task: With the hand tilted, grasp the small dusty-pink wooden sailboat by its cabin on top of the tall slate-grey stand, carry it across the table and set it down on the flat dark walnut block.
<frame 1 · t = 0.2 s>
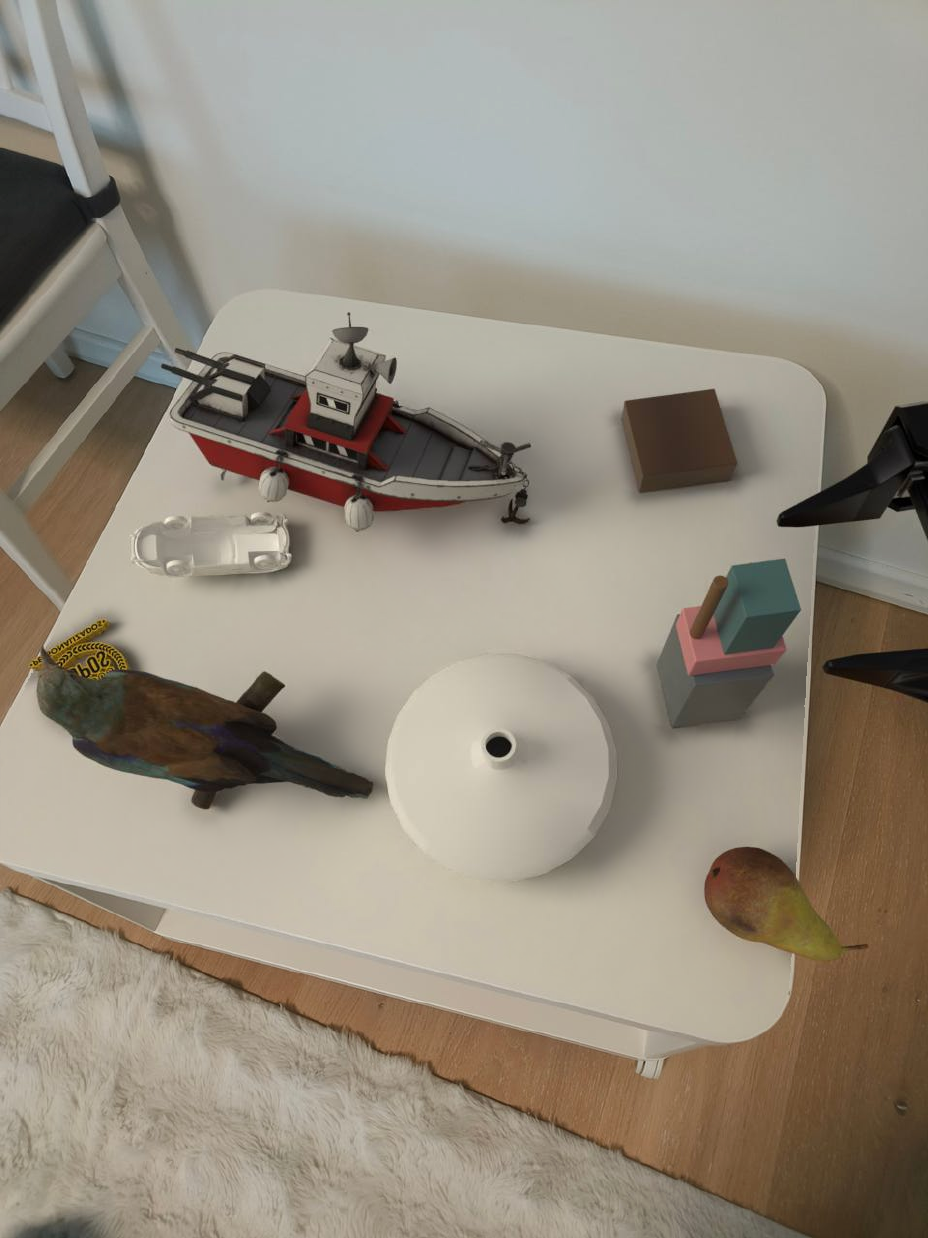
hand: (800, 590, 47), 16 cm above the table, tool horizontal, fingers open, 9 cm apart
sailboat: (724, 644, 53), point 9 cm above the table, touching stand
fruit: (714, 867, 53), point 4 cm above the table
toy car: (211, 536, 65), point 4 cm above the table
stand: (697, 691, 62), on the table
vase: (501, 772, 60), on the table
walnut block: (674, 449, 70), on the table
logo: (67, 639, 66), on the table
bird figurine: (239, 748, 62), on the table
toy boat: (362, 484, 71), on the table
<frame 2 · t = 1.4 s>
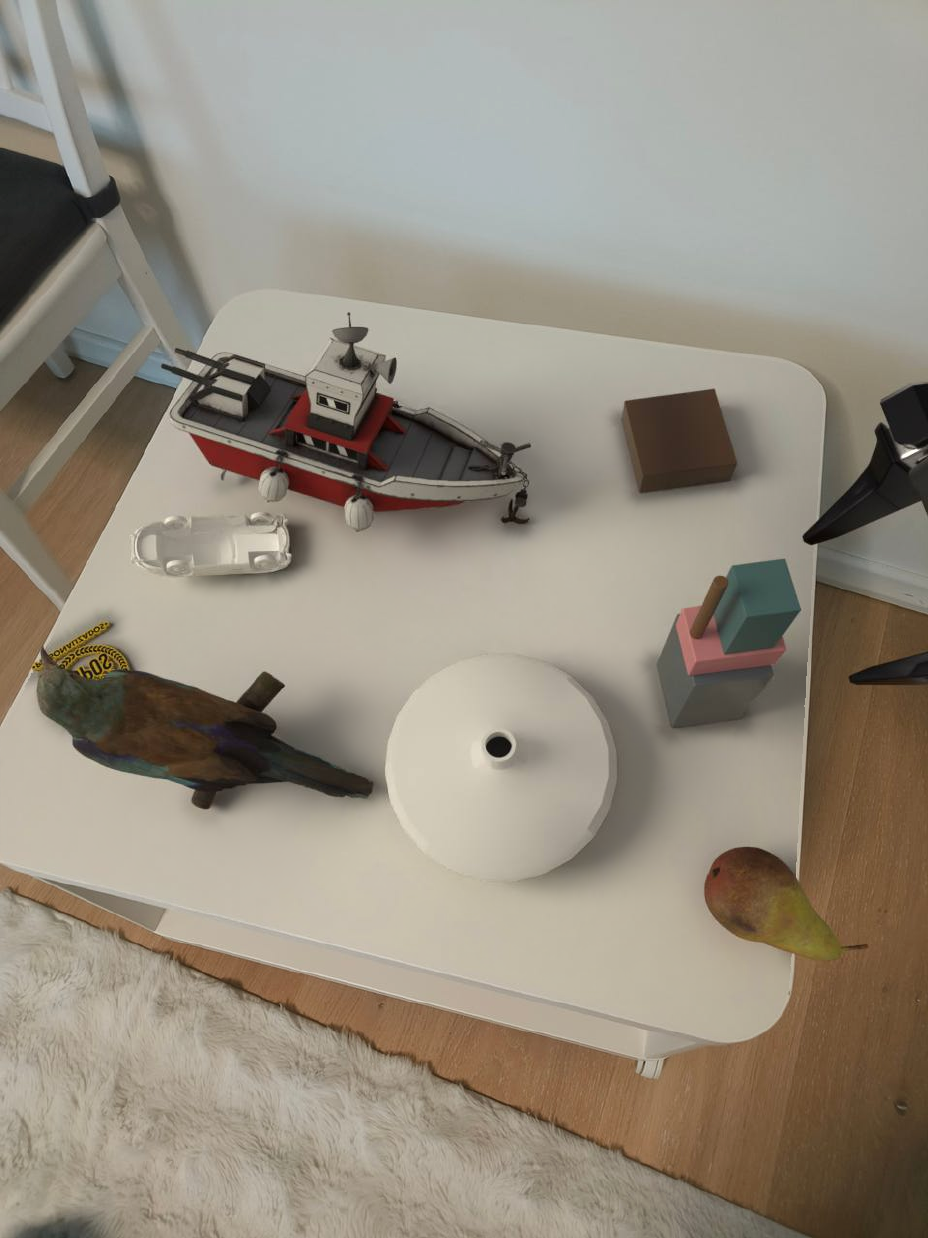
hand: (828, 608, 50), 13 cm above the table, tool tilted 45°, fingers open, 9 cm apart
nothing on the table moved.
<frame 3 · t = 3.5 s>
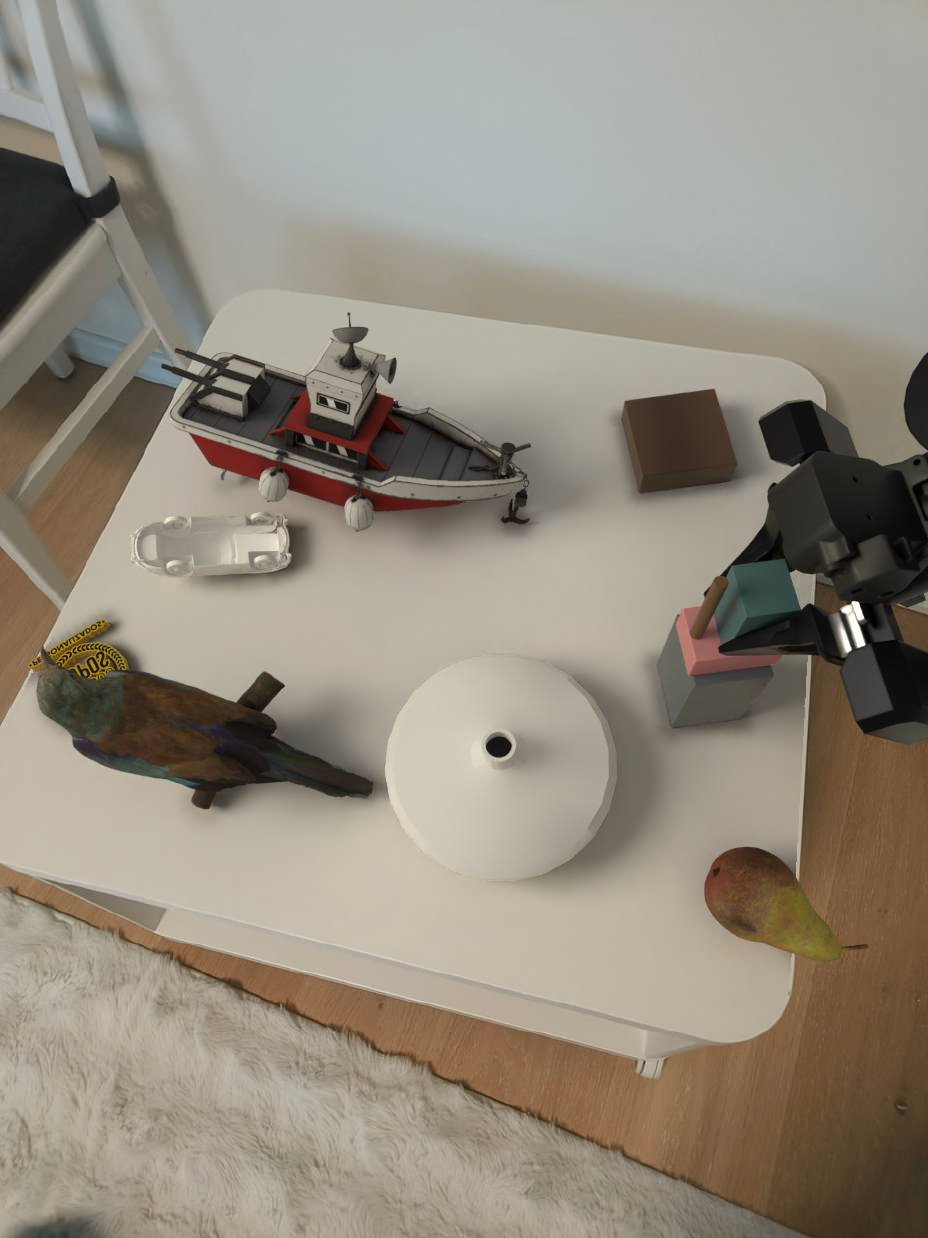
hand: (714, 624, 50), 13 cm above the table, tool tilted 45°, fingers closed on sailboat, 3 cm apart
sailboat: (724, 644, 53), point 9 cm above the table, touching gripper, stand
everything else where it was.
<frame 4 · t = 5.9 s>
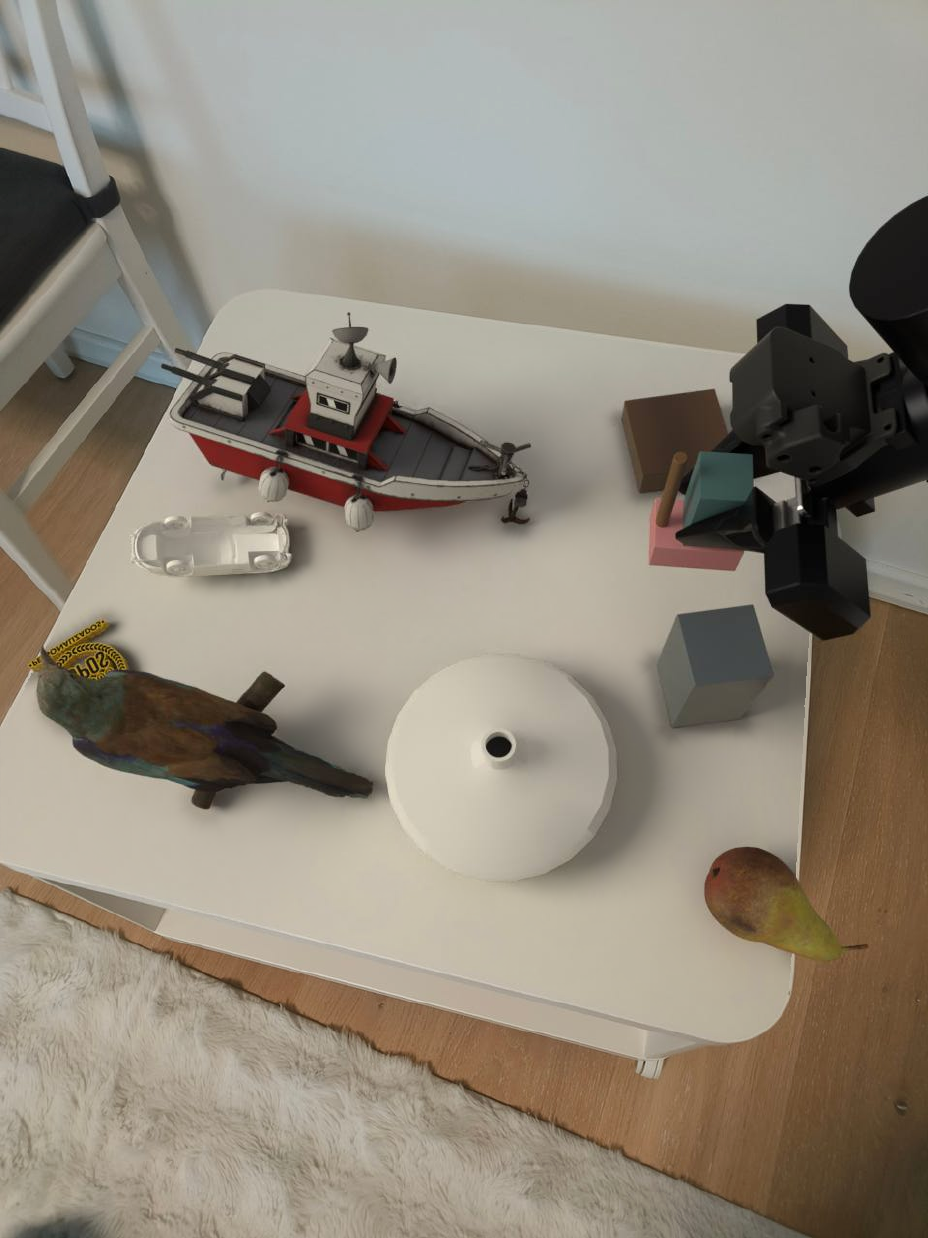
hand: (679, 513, 52), 14 cm above the table, tool tilted 45°, fingers closed on sailboat, 3 cm apart
sailboat: (691, 544, 55), point 10 cm above the table, touching gripper
everything else where it was.
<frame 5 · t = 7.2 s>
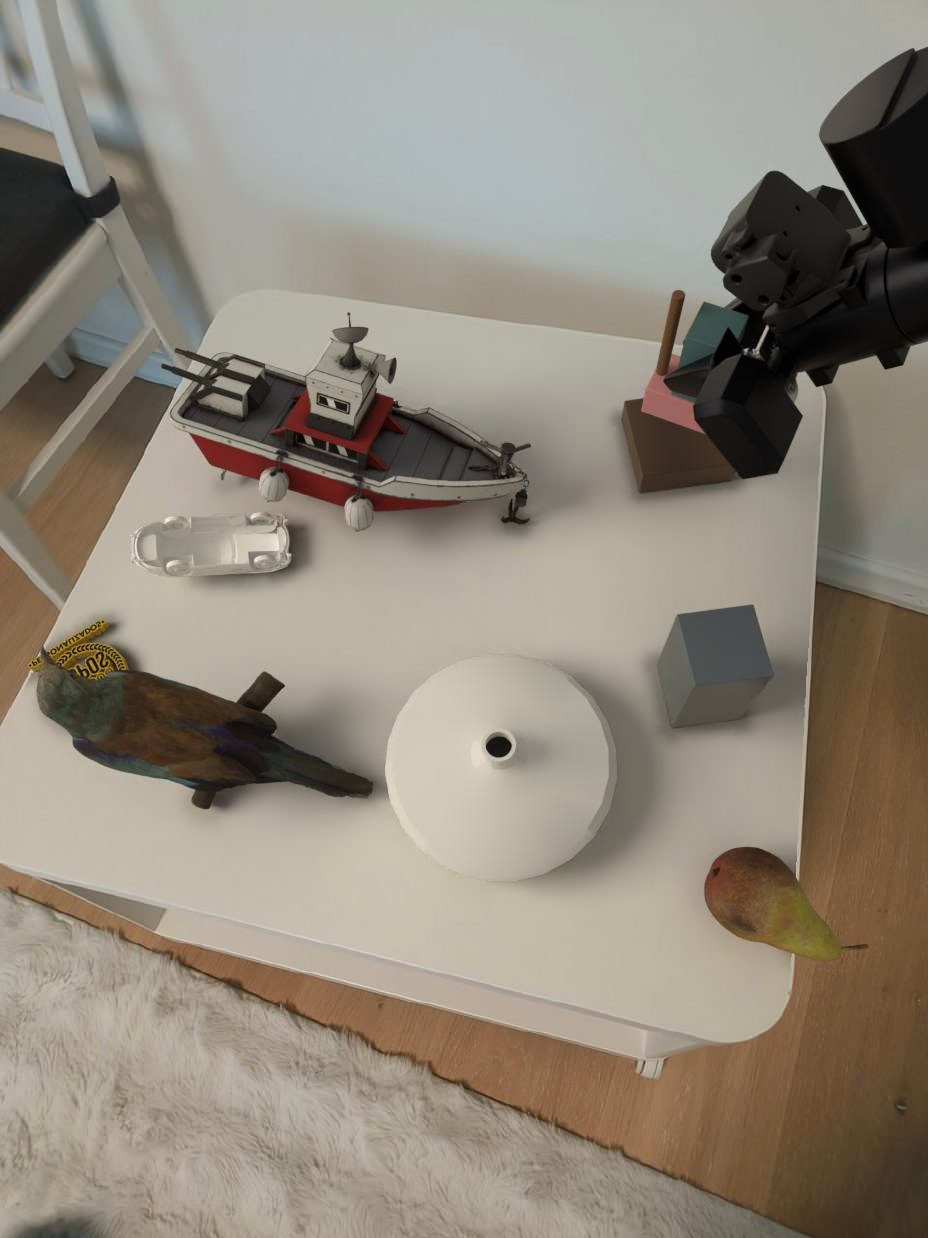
hand: (677, 364, 57), 14 cm above the table, tool tilted 45°, fingers closed on sailboat, 3 cm apart
sailboat: (686, 405, 60), point 10 cm above the table, touching gripper
everything else where it was.
when the fingers open (6 cm above the table, at t = 11.1 s): sailboat stays where it is, resting on walnut block.
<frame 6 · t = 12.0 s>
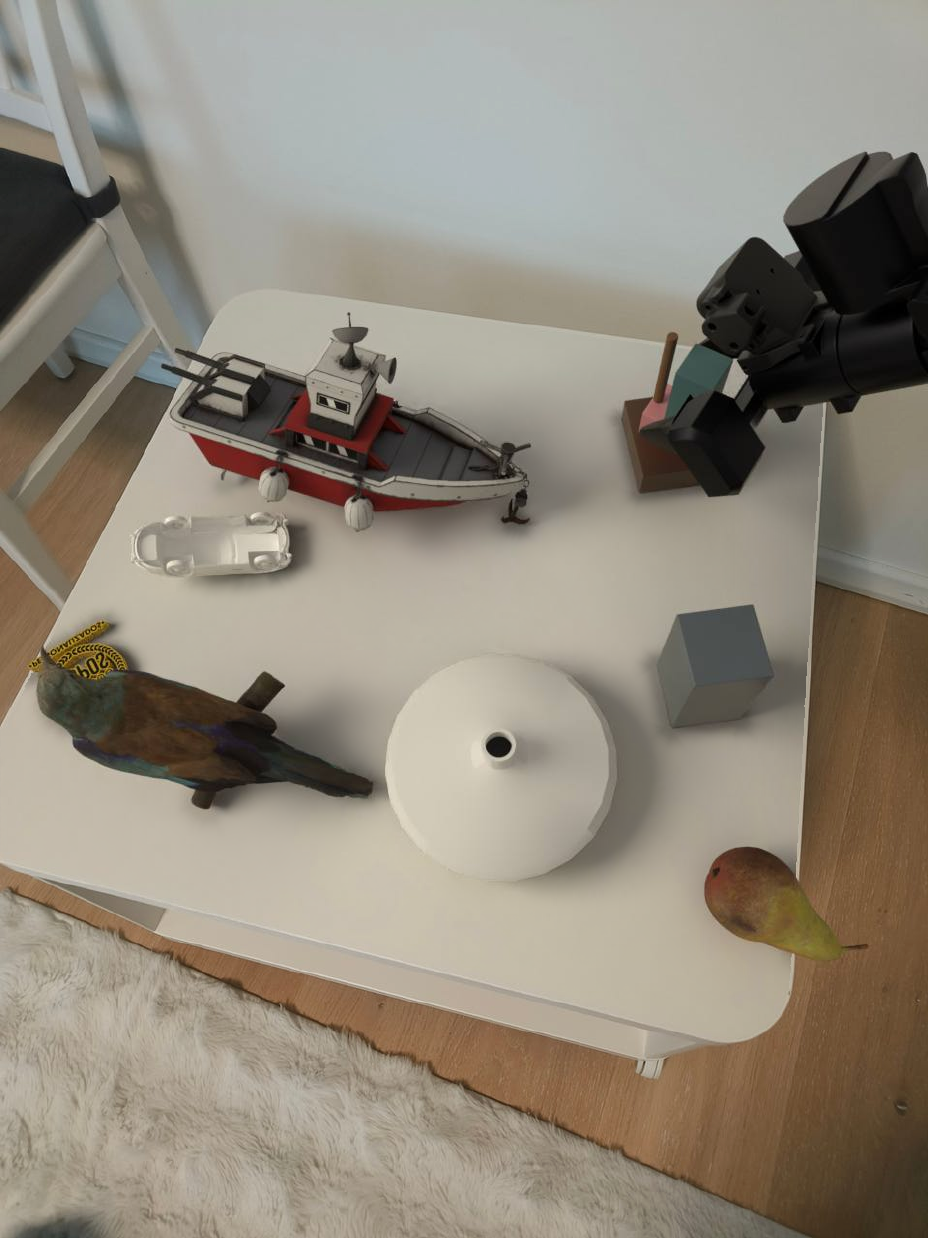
hand: (671, 391, 65), 6 cm above the table, tool tilted 45°, fingers open, 9 cm apart
sailboat: (679, 431, 68), point 2 cm above the table, touching walnut block
everything else where it was.
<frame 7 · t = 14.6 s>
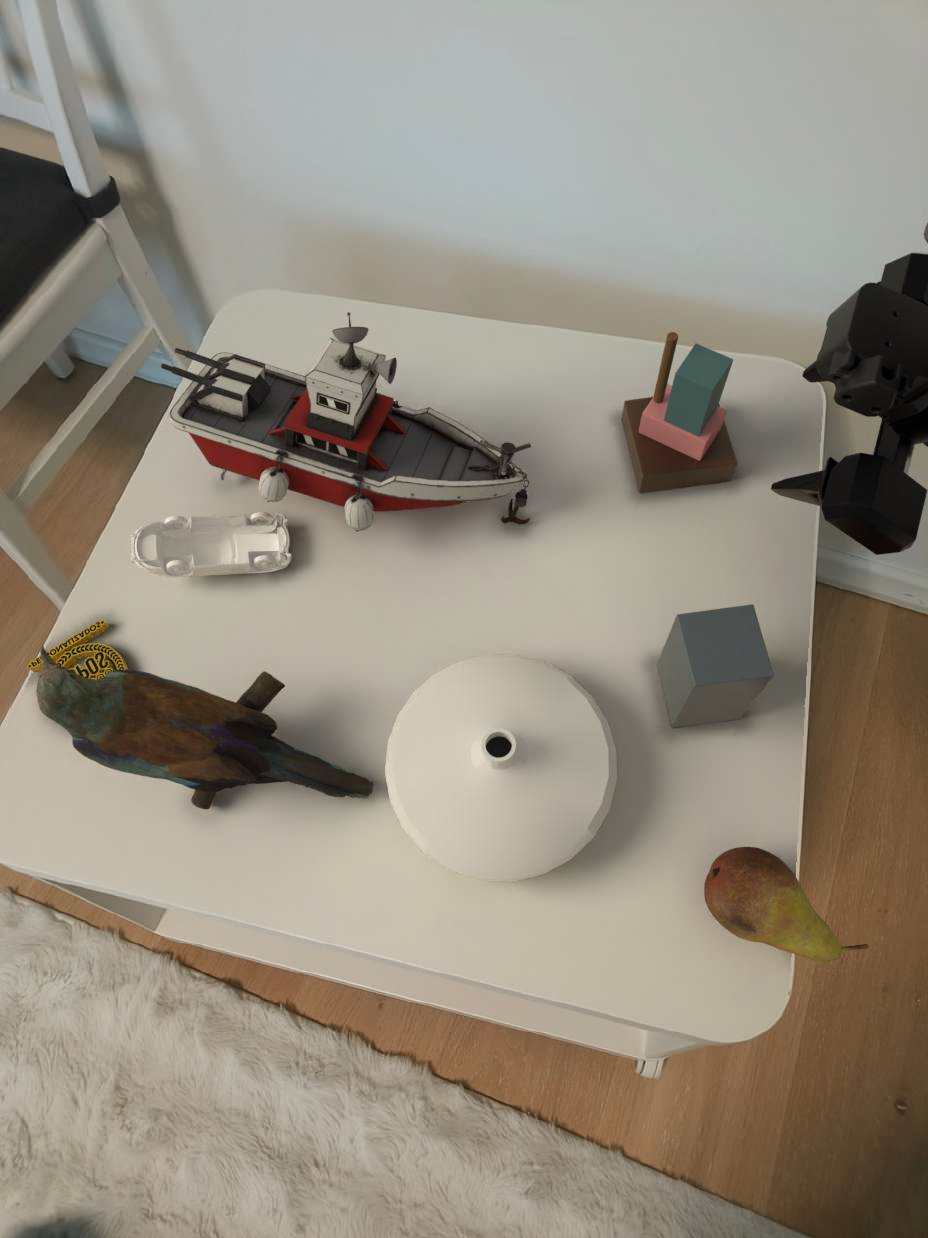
hand: (790, 432, 60), 8 cm above the table, tool tilted 40°, fingers open, 9 cm apart
nothing on the table moved.
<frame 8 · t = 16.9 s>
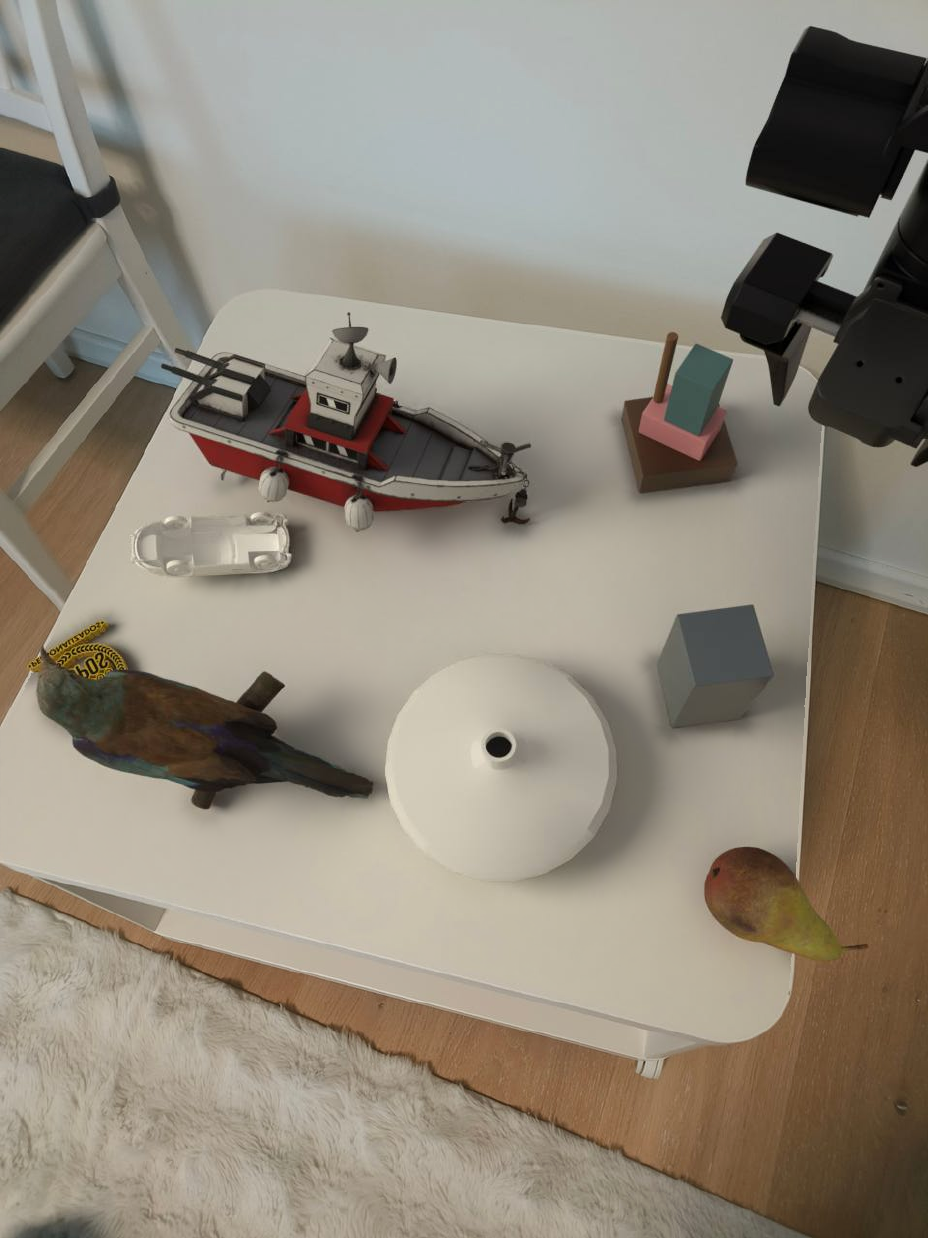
hand: (845, 430, 55), 13 cm above the table, tool pointing down, fingers open, 9 cm apart
nothing on the table moved.
at the end: sailboat 0.1 cm off-centre on the walnut block, point 2.5 cm above the walnut block's base; sailboat tilted 0°; the gripper is holding nothing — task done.
